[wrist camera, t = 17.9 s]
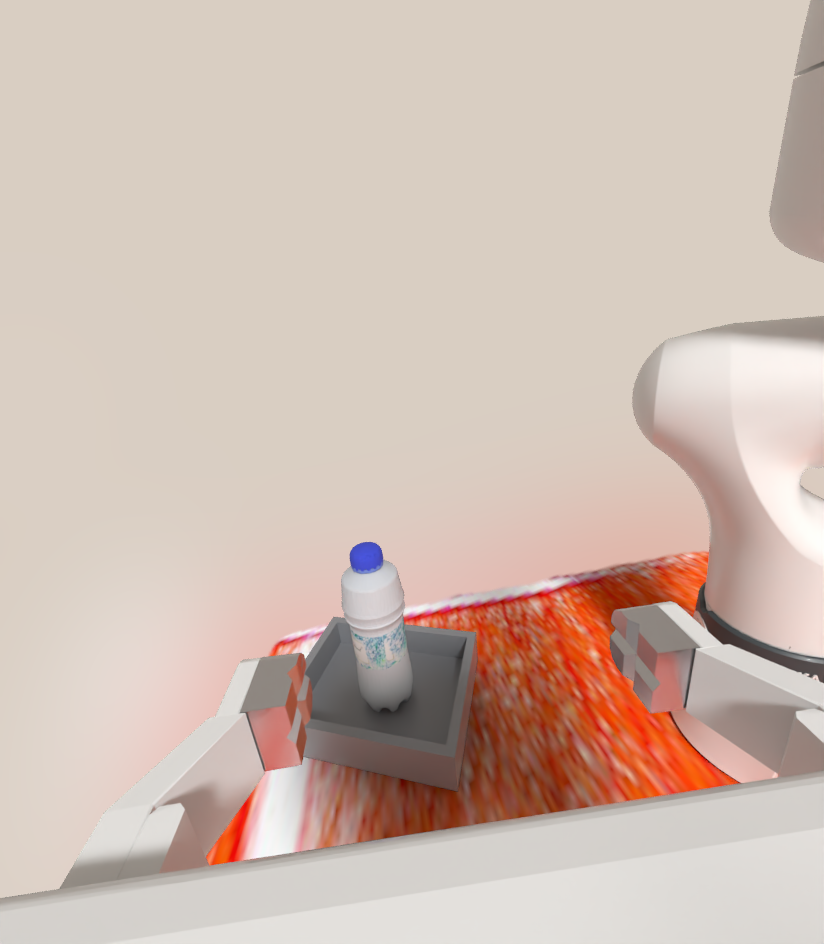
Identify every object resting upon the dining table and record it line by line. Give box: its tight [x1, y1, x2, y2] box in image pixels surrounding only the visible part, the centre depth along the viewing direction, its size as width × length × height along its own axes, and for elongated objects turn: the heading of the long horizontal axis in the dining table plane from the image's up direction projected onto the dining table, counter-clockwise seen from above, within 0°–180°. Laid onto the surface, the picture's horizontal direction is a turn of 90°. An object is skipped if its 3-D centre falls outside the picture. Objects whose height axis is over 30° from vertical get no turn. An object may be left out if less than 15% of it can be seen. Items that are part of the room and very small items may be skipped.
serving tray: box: [303, 617, 478, 792], centre depth 46 cm, size 20×16×4 cm
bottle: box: [341, 542, 413, 712], centre depth 44 cm, size 7×7×20 cm
